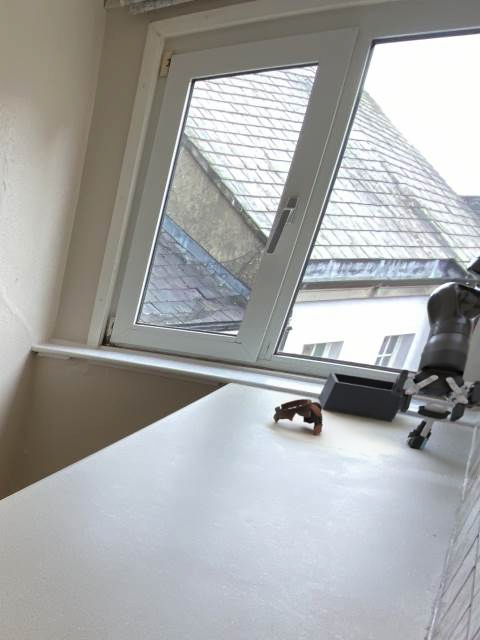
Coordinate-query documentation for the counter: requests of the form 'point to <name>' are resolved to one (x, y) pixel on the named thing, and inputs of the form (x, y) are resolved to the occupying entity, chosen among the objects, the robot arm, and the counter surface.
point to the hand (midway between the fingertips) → (428, 415)
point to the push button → (426, 424)
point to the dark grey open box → (359, 396)
